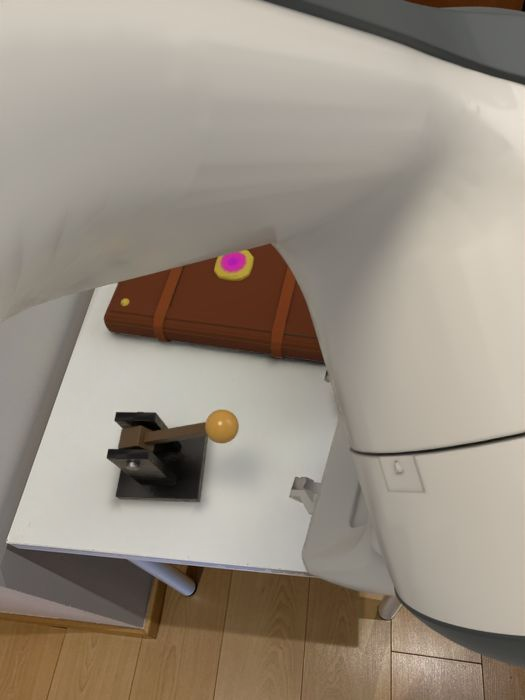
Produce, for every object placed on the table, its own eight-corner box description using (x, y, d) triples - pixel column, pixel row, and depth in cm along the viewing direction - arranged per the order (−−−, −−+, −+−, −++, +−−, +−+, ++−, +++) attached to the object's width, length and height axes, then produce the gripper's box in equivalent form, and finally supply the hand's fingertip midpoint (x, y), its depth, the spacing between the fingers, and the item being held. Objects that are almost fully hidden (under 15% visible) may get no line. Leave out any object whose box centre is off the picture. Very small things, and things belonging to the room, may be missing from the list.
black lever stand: (207, 436, 64) (184, 399, 53) (200, 501, 60) (173, 474, 50) (130, 435, 65) (93, 398, 55) (118, 498, 61) (76, 472, 51)
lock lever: (246, 413, 50) (227, 402, 47) (244, 445, 48) (224, 435, 46) (140, 432, 56) (119, 423, 54) (135, 460, 55) (113, 452, 52)
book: (161, 218, 83) (152, 195, 78) (357, 236, 76) (358, 212, 72) (112, 338, 72) (99, 319, 68) (333, 370, 66) (334, 351, 62)
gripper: (459, 228, 30) (320, 297, 42) (384, 592, 22) (238, 552, 34) (525, 282, 32) (376, 334, 44) (480, 630, 24) (312, 580, 36)
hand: (316, 430), depth 39 cm, fingers open, 8 cm apart
